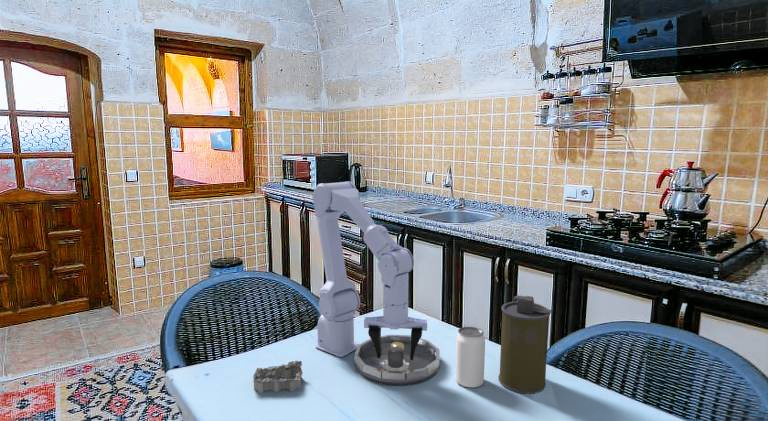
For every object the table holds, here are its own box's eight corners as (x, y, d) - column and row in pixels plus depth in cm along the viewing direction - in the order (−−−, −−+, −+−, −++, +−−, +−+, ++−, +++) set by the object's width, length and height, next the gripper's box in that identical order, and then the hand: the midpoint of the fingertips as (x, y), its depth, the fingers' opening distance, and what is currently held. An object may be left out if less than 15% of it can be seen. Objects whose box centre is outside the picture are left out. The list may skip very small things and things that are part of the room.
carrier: (338, 368, 111) (337, 348, 111) (388, 338, 128) (388, 321, 127) (409, 395, 99) (409, 374, 99) (454, 359, 116) (454, 340, 115)
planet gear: (383, 375, 104) (383, 357, 104) (380, 362, 111) (380, 345, 110) (411, 374, 105) (411, 355, 104) (406, 361, 111) (406, 343, 111)
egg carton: (304, 376, 108) (303, 359, 108) (299, 393, 101) (299, 375, 100) (258, 376, 108) (257, 360, 107) (250, 394, 100) (249, 376, 100)
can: (483, 390, 102) (485, 338, 100) (454, 387, 103) (455, 336, 101) (483, 375, 108) (485, 327, 106) (455, 372, 109) (457, 324, 107)
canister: (495, 388, 102) (498, 302, 99) (501, 367, 112) (504, 288, 109) (547, 398, 98) (552, 309, 95) (548, 375, 108) (553, 293, 105)
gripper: (361, 306, 102) (362, 363, 104) (427, 309, 101) (426, 367, 103) (366, 295, 109) (366, 349, 111) (427, 298, 108) (426, 352, 110)
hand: (395, 357), depth 108 cm, fingers open, 7 cm apart
